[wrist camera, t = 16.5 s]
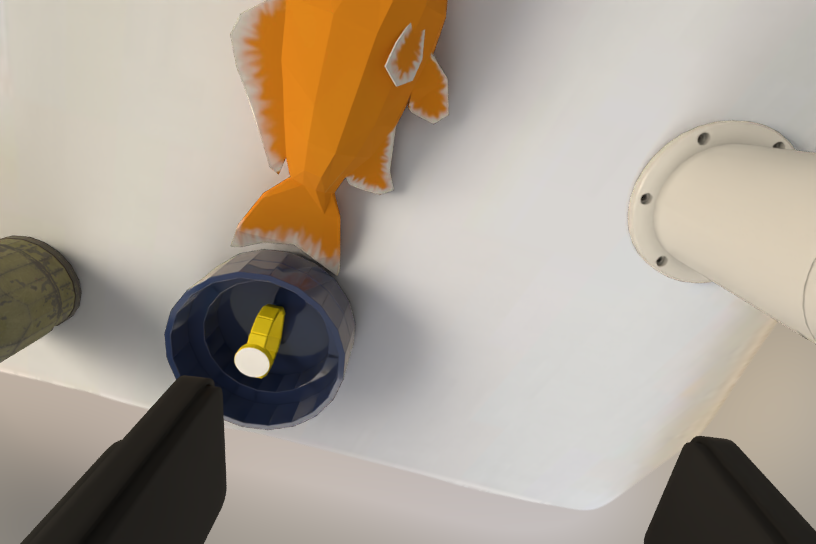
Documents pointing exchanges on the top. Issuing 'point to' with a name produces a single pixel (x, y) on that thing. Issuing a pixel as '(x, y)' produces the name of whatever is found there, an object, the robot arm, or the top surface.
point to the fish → (332, 105)
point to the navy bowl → (231, 326)
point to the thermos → (33, 292)
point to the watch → (261, 343)
